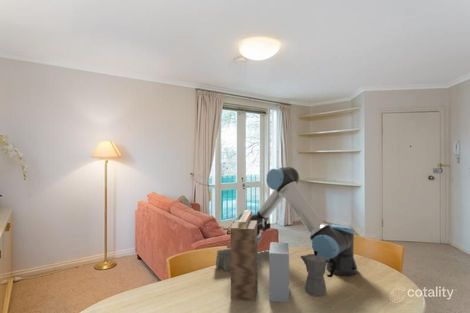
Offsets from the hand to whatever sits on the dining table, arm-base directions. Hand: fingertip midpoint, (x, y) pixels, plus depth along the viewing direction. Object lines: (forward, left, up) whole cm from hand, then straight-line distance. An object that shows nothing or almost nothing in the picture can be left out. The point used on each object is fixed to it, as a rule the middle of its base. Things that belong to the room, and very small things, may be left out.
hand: (250, 220), depth 143 cm
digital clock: (+11, -4, -27) cm, 29 cm away
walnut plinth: (0, +22, -26) cm, 34 cm away
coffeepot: (-32, +17, -26) cm, 45 cm away
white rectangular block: (-15, +21, -26) cm, 37 cm away
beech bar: (0, +18, +4) cm, 18 cm away
